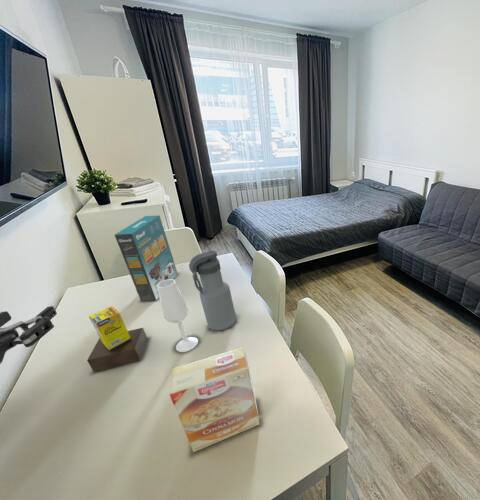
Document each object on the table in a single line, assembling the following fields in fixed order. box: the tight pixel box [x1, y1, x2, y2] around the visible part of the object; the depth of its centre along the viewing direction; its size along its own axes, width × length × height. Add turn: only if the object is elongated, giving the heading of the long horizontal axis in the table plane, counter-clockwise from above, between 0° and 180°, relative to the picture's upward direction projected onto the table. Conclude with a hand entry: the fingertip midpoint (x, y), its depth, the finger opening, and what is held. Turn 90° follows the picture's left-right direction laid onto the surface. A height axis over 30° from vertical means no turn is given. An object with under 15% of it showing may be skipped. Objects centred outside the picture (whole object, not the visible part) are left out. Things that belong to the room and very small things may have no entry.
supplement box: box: [88, 305, 131, 351], centre depth 82 cm, size 6×6×11 cm
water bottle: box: [188, 250, 237, 332], centre depth 93 cm, size 10×10×28 cm
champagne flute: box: [157, 278, 199, 353], centre depth 84 cm, size 7×7×24 cm
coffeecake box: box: [168, 346, 261, 453], centre depth 61 cm, size 15×7×20 cm, turn 114°
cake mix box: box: [114, 215, 178, 302], centre depth 116 cm, size 22×6×30 cm, turn 6°
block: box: [86, 327, 149, 373], centre depth 85 cm, size 12×10×5 cm
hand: (30, 312), depth 58 cm, fingers open, 8 cm apart
